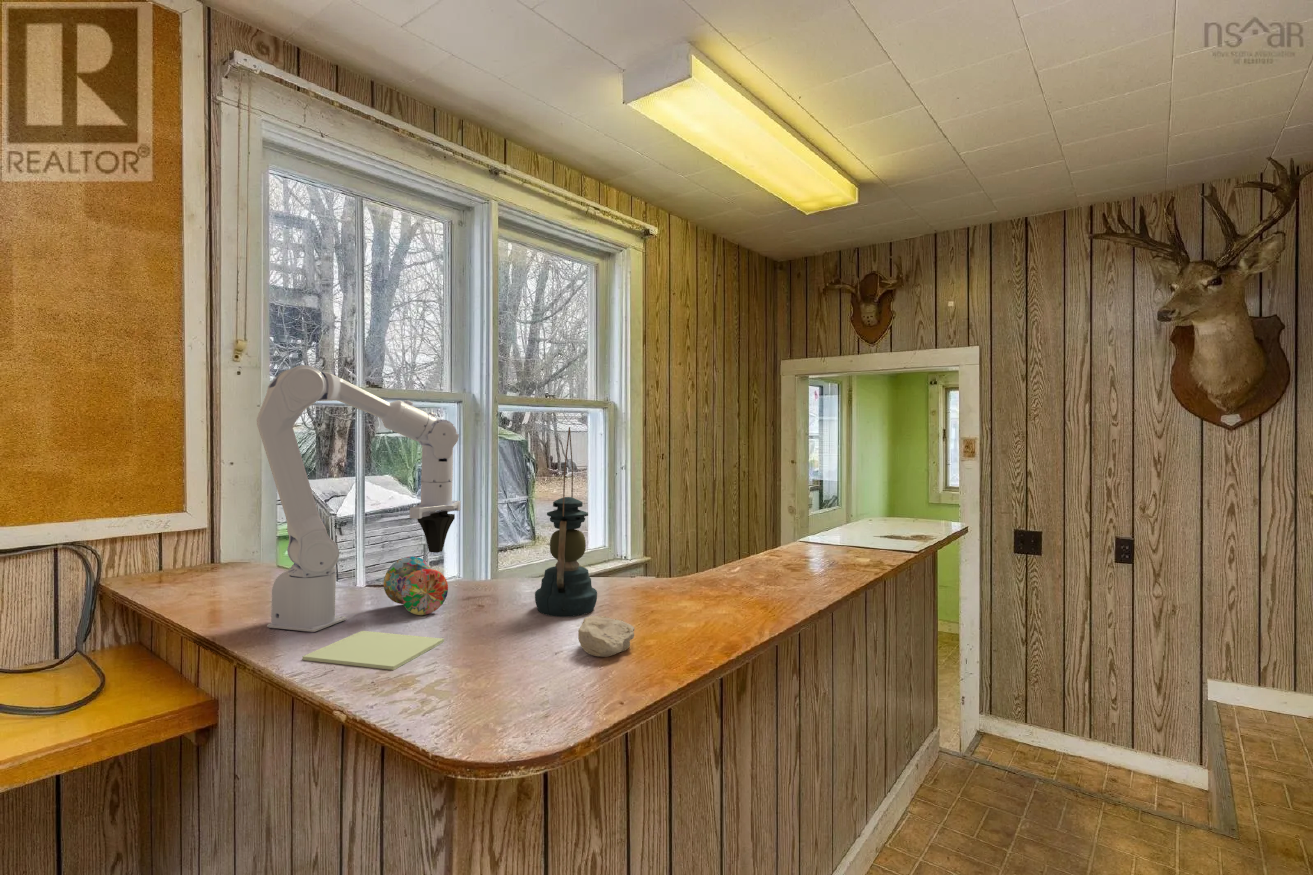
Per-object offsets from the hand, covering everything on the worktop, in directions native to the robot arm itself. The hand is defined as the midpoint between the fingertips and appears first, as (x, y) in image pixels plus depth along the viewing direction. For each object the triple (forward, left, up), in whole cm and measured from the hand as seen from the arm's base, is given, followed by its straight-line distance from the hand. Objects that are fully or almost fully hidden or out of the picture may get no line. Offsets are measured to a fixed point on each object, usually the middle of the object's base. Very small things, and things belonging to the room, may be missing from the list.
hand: (435, 551), depth 125 cm
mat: (+6, -25, -10) cm, 28 cm away
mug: (+4, -6, -7) cm, 10 cm away
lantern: (+25, +5, -11) cm, 28 cm away
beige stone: (+39, -15, -11) cm, 43 cm away
